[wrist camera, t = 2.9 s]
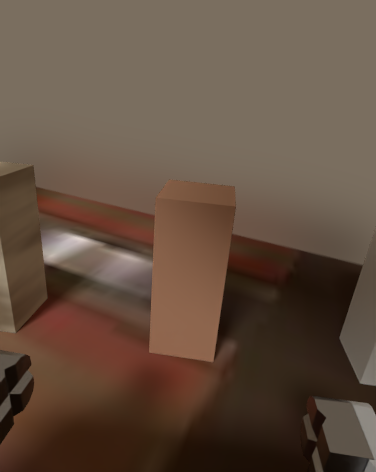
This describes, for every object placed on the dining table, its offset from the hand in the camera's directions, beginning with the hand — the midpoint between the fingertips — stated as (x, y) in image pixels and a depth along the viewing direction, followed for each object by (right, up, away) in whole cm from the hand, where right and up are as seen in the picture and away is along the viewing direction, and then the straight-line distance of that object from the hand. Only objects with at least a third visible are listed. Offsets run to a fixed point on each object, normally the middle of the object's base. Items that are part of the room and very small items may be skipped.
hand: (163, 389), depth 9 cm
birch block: (-13, -1, +16) cm, 21 cm away
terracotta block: (0, -3, +15) cm, 15 cm away
